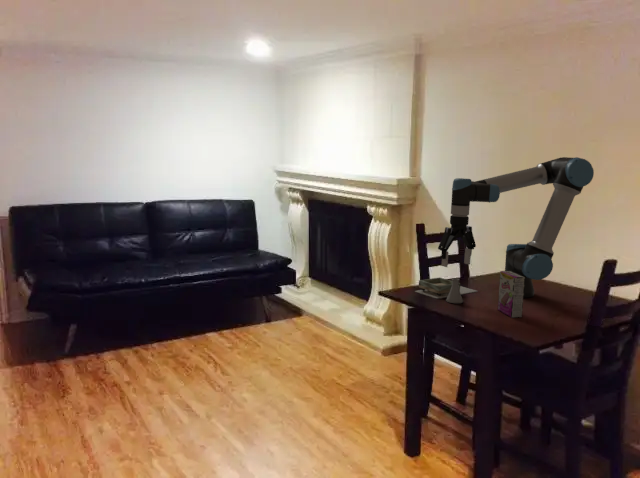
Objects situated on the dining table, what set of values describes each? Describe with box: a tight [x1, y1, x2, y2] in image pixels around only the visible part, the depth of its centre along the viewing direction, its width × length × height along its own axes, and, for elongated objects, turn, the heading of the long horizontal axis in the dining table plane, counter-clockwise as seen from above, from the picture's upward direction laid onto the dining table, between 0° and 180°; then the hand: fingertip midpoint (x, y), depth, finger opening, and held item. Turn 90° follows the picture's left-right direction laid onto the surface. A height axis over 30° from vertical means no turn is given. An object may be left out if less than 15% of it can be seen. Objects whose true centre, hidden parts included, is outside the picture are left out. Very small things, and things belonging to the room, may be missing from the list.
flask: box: [445, 277, 464, 304], centre depth 247 cm, size 7×7×10 cm
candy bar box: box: [497, 270, 525, 319], centre depth 230 cm, size 11×5×16 cm, turn 12°
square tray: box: [418, 277, 461, 296], centre depth 262 cm, size 13×13×5 cm
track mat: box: [414, 285, 478, 300], centre depth 265 cm, size 14×26×1 cm, turn 123°
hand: (455, 265), depth 245 cm, fingers open, 13 cm apart
